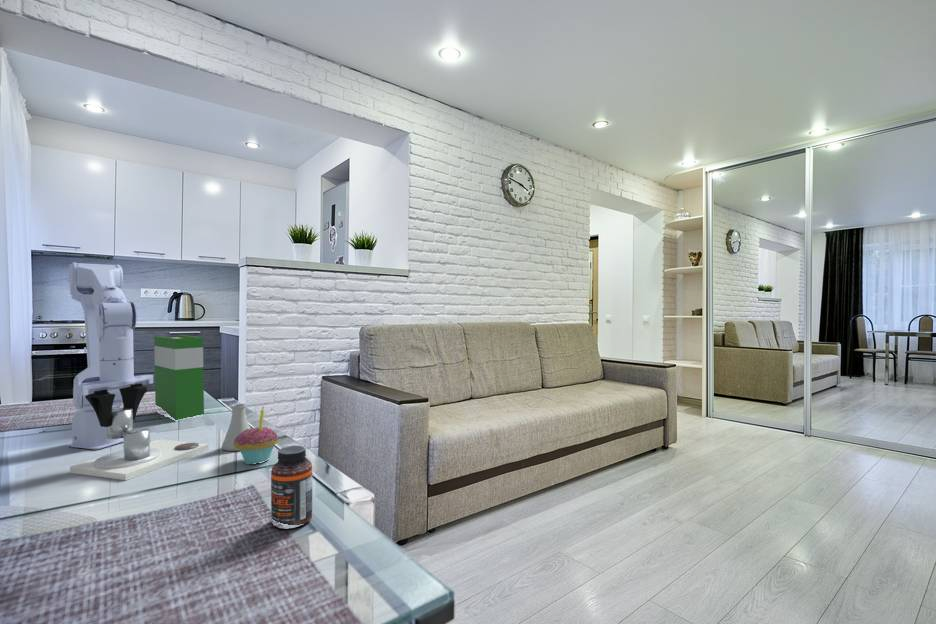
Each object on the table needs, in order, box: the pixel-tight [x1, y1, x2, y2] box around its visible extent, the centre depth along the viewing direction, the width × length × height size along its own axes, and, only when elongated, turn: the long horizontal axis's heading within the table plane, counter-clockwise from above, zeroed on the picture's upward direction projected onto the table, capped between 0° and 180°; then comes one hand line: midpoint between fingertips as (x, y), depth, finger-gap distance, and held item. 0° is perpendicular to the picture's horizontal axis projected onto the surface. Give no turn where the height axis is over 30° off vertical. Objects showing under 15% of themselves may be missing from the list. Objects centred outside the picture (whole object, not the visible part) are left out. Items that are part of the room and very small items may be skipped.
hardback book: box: [153, 334, 205, 420], centre depth 138 cm, size 18×7×24 cm, turn 51°
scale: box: [69, 438, 209, 481], centre depth 97 cm, size 15×19×2 cm
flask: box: [220, 403, 251, 452], centre depth 106 cm, size 7×7×10 cm
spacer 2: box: [123, 427, 151, 461], centre depth 94 cm, size 4×4×6 cm
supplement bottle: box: [270, 445, 313, 525], centre depth 69 cm, size 6×6×11 cm
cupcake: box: [234, 406, 279, 465], centre depth 96 cm, size 9×8×12 cm
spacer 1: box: [107, 407, 134, 439], centre depth 95 cm, size 4×4×6 cm
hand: (117, 423), depth 95 cm, fingers closed on spacer 1, 4 cm apart
